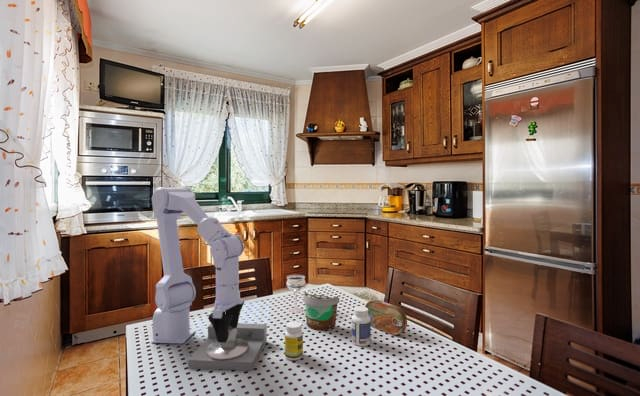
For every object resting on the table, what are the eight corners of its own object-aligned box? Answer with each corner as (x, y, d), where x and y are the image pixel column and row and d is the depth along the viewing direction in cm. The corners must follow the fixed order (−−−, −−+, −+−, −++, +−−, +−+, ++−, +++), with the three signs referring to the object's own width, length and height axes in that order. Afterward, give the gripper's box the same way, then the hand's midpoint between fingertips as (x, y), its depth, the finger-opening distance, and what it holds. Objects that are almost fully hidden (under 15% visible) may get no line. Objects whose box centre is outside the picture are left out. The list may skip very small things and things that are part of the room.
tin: (363, 323, 107) (363, 297, 107) (369, 320, 109) (370, 295, 109) (402, 339, 95) (402, 311, 95) (408, 336, 97) (409, 308, 97)
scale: (188, 367, 80) (187, 347, 80) (212, 339, 95) (212, 322, 95) (252, 370, 79) (252, 350, 79) (266, 341, 94) (266, 324, 94)
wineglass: (296, 305, 123) (296, 273, 123) (309, 310, 118) (309, 277, 118) (282, 310, 118) (282, 277, 118) (295, 315, 113) (295, 280, 113)
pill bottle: (372, 340, 95) (372, 307, 95) (367, 348, 90) (367, 313, 90) (354, 336, 97) (355, 304, 97) (348, 344, 92) (349, 310, 92)
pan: (199, 359, 80) (199, 356, 80) (215, 339, 91) (215, 337, 91) (241, 361, 79) (241, 358, 79) (252, 341, 90) (252, 338, 90)
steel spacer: (219, 350, 83) (219, 333, 83) (223, 343, 87) (223, 326, 87) (235, 350, 83) (234, 332, 83) (238, 343, 87) (238, 326, 87)
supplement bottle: (300, 361, 83) (300, 329, 83) (282, 359, 84) (282, 327, 84) (304, 352, 88) (304, 321, 88) (287, 350, 89) (287, 320, 88)
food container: (296, 328, 103) (296, 296, 103) (304, 320, 109) (304, 290, 108) (333, 334, 98) (333, 302, 98) (339, 326, 104) (339, 295, 104)
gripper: (233, 292, 77) (233, 349, 77) (250, 275, 91) (250, 323, 92) (204, 291, 77) (204, 348, 78) (225, 275, 92) (226, 322, 92)
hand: (227, 334), depth 85 cm, fingers open, 7 cm apart
